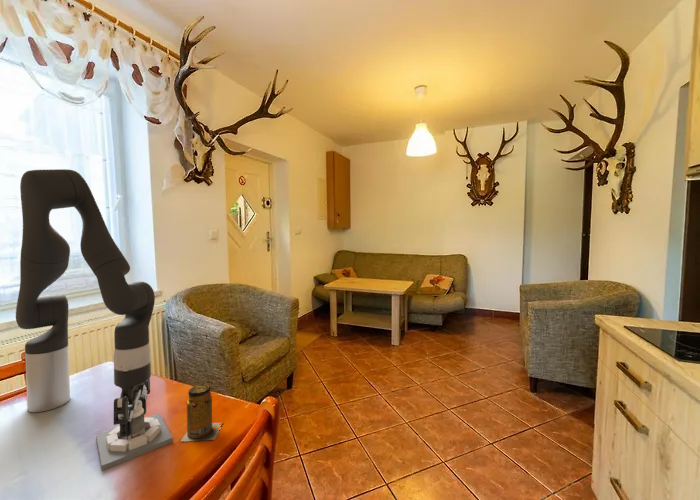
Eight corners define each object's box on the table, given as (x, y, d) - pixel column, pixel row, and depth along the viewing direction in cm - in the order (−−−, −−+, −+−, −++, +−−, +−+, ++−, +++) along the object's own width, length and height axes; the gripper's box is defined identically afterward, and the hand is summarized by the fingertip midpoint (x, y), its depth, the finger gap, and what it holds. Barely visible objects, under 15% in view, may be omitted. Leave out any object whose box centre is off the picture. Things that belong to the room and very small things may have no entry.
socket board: (96, 439, 78) (96, 428, 78) (159, 417, 88) (159, 407, 87) (101, 470, 68) (101, 459, 68) (172, 442, 78) (172, 431, 77)
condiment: (192, 424, 85) (191, 382, 84) (223, 423, 86) (223, 381, 85) (180, 442, 78) (179, 396, 77) (214, 440, 78) (214, 395, 78)
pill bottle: (147, 428, 81) (146, 397, 80) (140, 440, 76) (140, 407, 76) (126, 431, 79) (125, 400, 79) (118, 443, 75) (117, 410, 74)
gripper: (128, 352, 83) (130, 410, 84) (99, 377, 69) (101, 446, 70) (159, 350, 84) (160, 407, 85) (137, 374, 71) (138, 441, 71)
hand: (134, 424), depth 78 cm, fingers open, 8 cm apart
